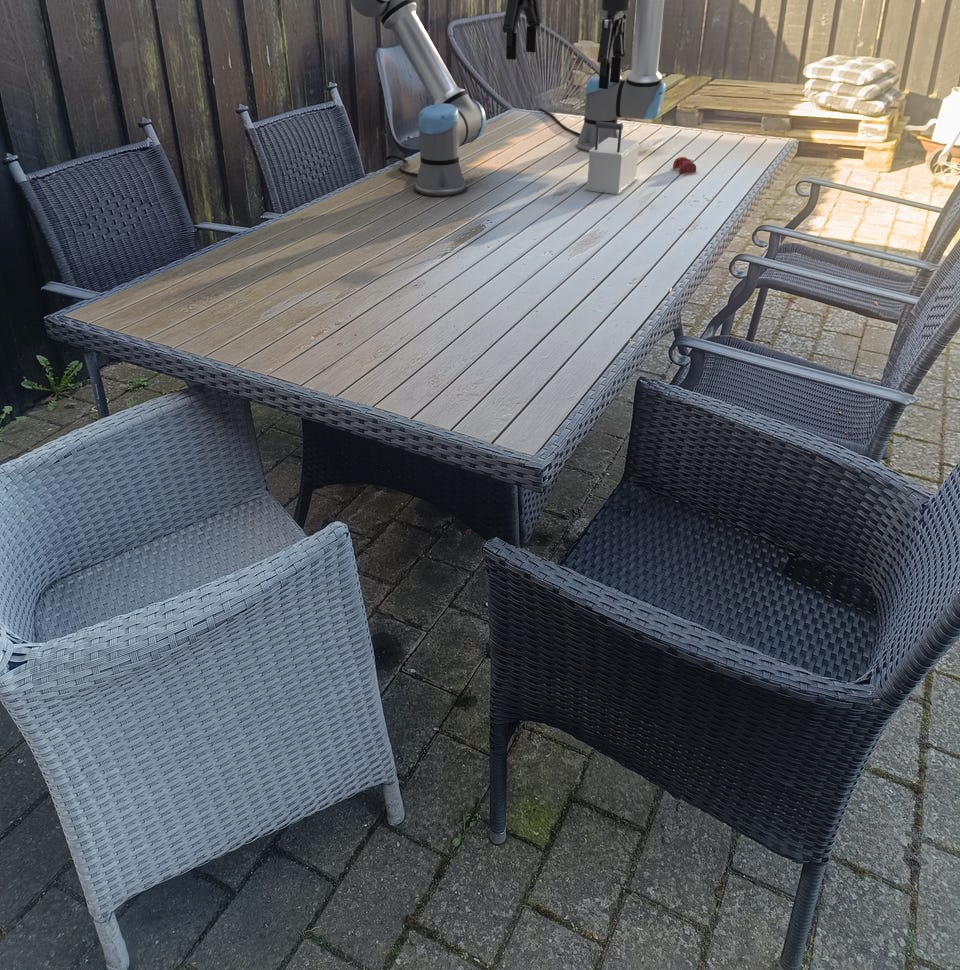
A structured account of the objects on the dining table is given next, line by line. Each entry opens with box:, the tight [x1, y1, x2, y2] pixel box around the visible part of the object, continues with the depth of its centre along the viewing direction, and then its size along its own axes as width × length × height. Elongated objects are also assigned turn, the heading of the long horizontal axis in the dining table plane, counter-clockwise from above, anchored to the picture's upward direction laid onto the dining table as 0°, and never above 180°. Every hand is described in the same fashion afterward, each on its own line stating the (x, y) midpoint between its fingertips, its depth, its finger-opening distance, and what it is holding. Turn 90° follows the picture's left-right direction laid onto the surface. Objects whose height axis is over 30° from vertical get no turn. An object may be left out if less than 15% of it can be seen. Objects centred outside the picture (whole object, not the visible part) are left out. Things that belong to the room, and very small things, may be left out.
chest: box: [586, 143, 640, 195], centre depth 259 cm, size 17×10×11 cm, turn 154°
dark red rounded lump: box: [672, 156, 697, 174], centre depth 274 cm, size 6×4×8 cm
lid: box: [588, 121, 640, 158], centre depth 253 cm, size 18×10×9 cm, turn 154°
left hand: (521, 55), depth 239 cm, fingers open, 13 cm apart
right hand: (609, 85), depth 237 cm, fingers open, 9 cm apart
